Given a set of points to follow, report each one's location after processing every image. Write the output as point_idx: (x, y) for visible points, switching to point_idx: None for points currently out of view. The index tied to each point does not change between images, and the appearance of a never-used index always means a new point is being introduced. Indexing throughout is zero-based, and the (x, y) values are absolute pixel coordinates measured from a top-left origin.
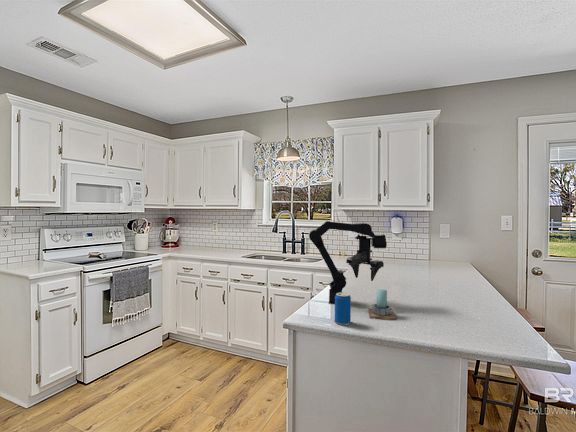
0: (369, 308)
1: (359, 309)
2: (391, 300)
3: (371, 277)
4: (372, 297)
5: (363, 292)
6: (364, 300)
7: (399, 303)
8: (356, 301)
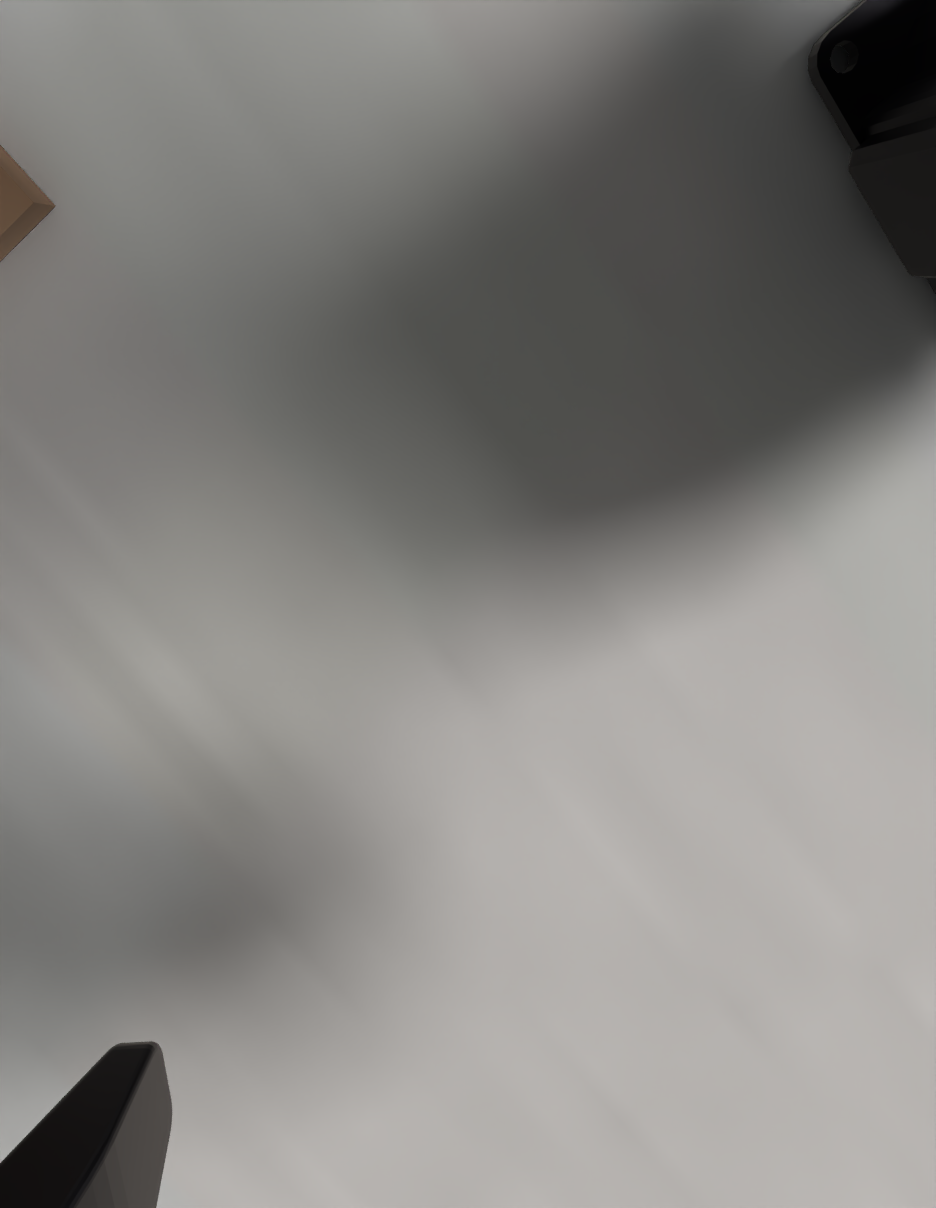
0: (10, 221)
1: (242, 99)
2: (282, 1119)
3: (31, 1192)
4: (626, 1025)
5: (929, 1137)
6: (614, 768)
7: None
8: (690, 582)
